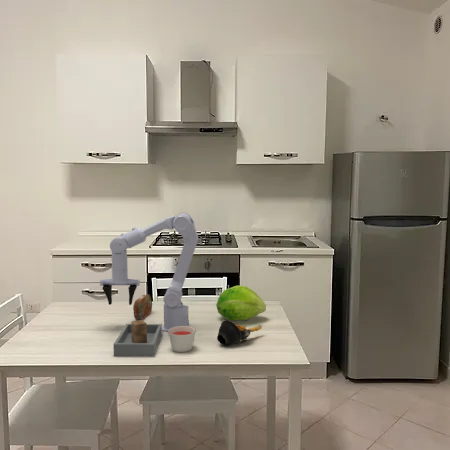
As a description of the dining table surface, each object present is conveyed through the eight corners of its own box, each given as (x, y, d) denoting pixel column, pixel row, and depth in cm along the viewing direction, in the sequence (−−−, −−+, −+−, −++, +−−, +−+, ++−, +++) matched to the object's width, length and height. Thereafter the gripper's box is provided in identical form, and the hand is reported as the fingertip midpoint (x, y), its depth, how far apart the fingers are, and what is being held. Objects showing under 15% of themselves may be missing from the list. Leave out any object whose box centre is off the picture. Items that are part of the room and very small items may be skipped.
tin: (139, 323, 186) (139, 302, 185) (132, 322, 187) (131, 301, 186) (152, 311, 201) (152, 292, 200) (145, 311, 201) (145, 291, 200)
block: (142, 339, 165) (142, 319, 165) (146, 342, 162) (146, 323, 161) (131, 341, 163) (131, 321, 163) (135, 344, 160) (135, 324, 159)
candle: (191, 342, 166) (191, 324, 165) (198, 351, 157) (198, 333, 156) (166, 345, 163) (166, 327, 162) (171, 355, 154) (171, 336, 154)
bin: (161, 334, 173) (161, 324, 172) (153, 356, 153) (153, 344, 152) (126, 334, 173) (126, 323, 172) (113, 356, 153) (113, 344, 152)
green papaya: (265, 326, 182) (266, 292, 181) (213, 324, 184) (214, 290, 182) (265, 314, 198) (266, 282, 196) (217, 313, 199) (218, 281, 198)
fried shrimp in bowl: (206, 330, 164) (237, 304, 176) (222, 357, 165) (252, 329, 177) (223, 327, 157) (254, 300, 169) (239, 355, 158) (269, 326, 170)
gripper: (140, 266, 181) (141, 301, 183) (103, 266, 181) (103, 300, 183) (137, 270, 174) (138, 306, 176) (98, 270, 174) (99, 306, 176)
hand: (120, 304), depth 179 cm, fingers open, 7 cm apart
